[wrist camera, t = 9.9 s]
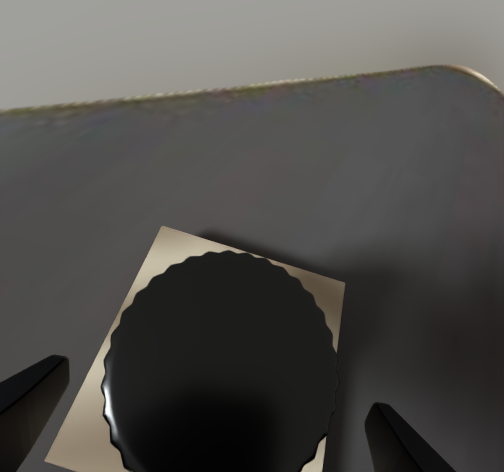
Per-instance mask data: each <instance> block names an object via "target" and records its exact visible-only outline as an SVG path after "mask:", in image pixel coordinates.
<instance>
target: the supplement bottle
mask: <svg viewBox="0 0 504 472" xmlns="http://www.w3.org/2000/svg"><path fill="white" fill-rule="evenodd" d="M325 320H326V318H325V313H324V312H323V311H322V310H321V309H320V308H319V307H318V306H317V305H316V302H315V298H314V296H313V294H312V293H310V292H309V291H307V290H306V289H304V287H303V286H302V283H301V282H300V280H299V279H298V278H296V277H293V276H291V275H289V273H288V272H287V271H286V270H285V268H284V267H281V266H278V265H273V264H272V263H271V262H270V261H269V260H268V259H267V258H256V257H254V256H253V255H252V254H250V253H248V252H245V253H235V252H233V251H231V250H226V251H223V252H220V253H218V252H212V251H208V252H206V253H204V254H203V255H201V256H189V257H188V258H186V259H185V260H184V261H183V262H182V263H176V264H172V265H170V266H169V267H168V268H167V269H166V271H165V272H164V273H162V274H159V275H156V276H154V277H152V279H151V280H150V282H149V283H148V285H147V287H145V288H143V289H141V290H140V291H138V292H137V293H136V294H135V297H134V299H133V302H132V304H131V305H129V306H128V307H127V308H126V309H125V310H124V311H123V312H122V314H121V318H120V323H119V325H118V326H117V327H116V328H115V330H114V331H113V332H112V334H111V338H110V343H111V344H110V349H109V350H108V352H107V354H106V356H105V358H104V360H103V362H104V368H105V375H104V377H103V380H102V383H101V386H100V388H101V391H102V394H103V396H104V399H105V401H104V406H103V414H102V415H103V417H104V419H105V421H106V422H107V424H108V425H109V426H110V443H111V444H112V445H113V446H114V447H115V448H116V449H118V450H119V452H120V454H121V460H122V464H123V467H124V468H125V469H126V470H128V471H129V472H301V471H302V469H303V467H304V466H305V465H306V464H308V463H310V462H311V461H313V460H314V459H315V457H316V453H317V450H318V445H319V443H320V442H321V441H322V440H323V439H324V438H325V437H326V436H327V435H328V430H329V419H330V417H331V415H332V414H333V413H334V411H335V409H336V399H335V392H336V390H337V388H338V385H339V378H338V374H337V371H336V365H337V362H338V356H337V353H336V351H335V349H334V347H333V333H332V332H331V330H330V328H329V327H328V326H327V324H326V321H325Z"/></svg>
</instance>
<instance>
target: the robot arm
mask: <svg viewBox="0 0 504 472" xmlns="http://www.w3.org/2000/svg"><path fill="white" fill-rule="evenodd" d="M69 382H70V365H69V358H68V357H66V356H60V355H51V356H49V357H47V358H45V359H43V360H41V361H39V362H38V363H36V364H34V365H32V366H30V367H28V368H26V369H25V370H23V371H21V372H19V373H17V374H15V375H13V376H12V377H10V378H8V379H6V380H4V381H2V382H0V472H16V471H17V470H18V468H19V467H20V465H21V464H22V462H23V461H24V459H25V458H26V456H27V455H28V453H29V452H30V450H31V449H32V447H33V446H34V444H35V442H36V441H37V439H38V437H39V436H40V434H41V432H42V430H43V429H44V427H45V425H46V423H47V422H48V420H49V418H50V417H51V415H52V413H53V411H54V410H55V408H56V406H57V404H58V403H59V401H60V399H61V397H62V396H63V394H64V392H65V390H66V389H67V387H68V385H69ZM365 432H366V437H367V441H368V446H369V450H370V455H371V459H372V464H373V468H374V472H456V471H455V470H454V469H453V468H452V467H451V466H450V465H449V464H448V463H447V462H446V461H445V460H444V459H443V458H442V457H441V456H440V455H439V454H438V453H437V452H436V451H435V450H434V449H433V448H432V447H431V446H430V445H429V444H428V443H427V442H426V441H425V440H424V439H423V438H422V437H421V436H420V435H419V434H418V433H417V432H416V431H415V430H414V429H413V428H412V427H411V426H410V425H409V424H408V423H407V422H406V421H405V420H404V419H403V418H402V417H401V416H400V415H399V414H398V413H397V412H396V411H395V410H394V409H393V408H392V407H391V406H390V405H388V404H385V403H379V402H375V403H373V405H372V407H371V409H370V411H369V413H368V415H367V418H366V420H365Z"/></svg>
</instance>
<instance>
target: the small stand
mask: <svg viewBox="0 0 504 472" xmlns="http://www.w3.org/2000/svg"><path fill="white" fill-rule="evenodd" d="M226 250H231V251H233V252H235V253H245V251H242V250H238V249H235V248H232V247H229V246H226V245H222V244H219V243H216V242H213V241H210V240H206V239H203V238H200V237H197V236H194V235H190V234H187V233H184V232H181V231H178V230H174V229H171V228H168V227H165V226H162V227H161V229H160V231H159V233H158V235H157V237H156V239H155V241H154V243H153V245H152V247H151V249H150V251H149V253H148V255H147V257H146V259H145V261H144V263H143V265H142V267H141V269H140V271H139V273H138V275H137V277H136V279H135V281H134V283H133V285H132V287H131V289H130V291H129V293H128V295H127V297H126V299H125V301H124V303H123V305H122V307H121V309H120V311H119V313H118V315H117V317H116V319H115V321H114V323H113V325H112V327H111V329H110V331H109V333H108V335H107V337H106V339H105V341H104V343H103V345H102V347H101V349H100V351H99V353H98V355H97V357H96V359H95V361H94V363H93V365H92V367H91V369H90V371H89V373H88V375H87V377H86V379H85V381H84V383H83V385H82V387H81V389H80V391H79V393H78V395H77V397H76V399H75V401H74V403H73V405H72V407H71V409H70V411H69V413H68V415H67V417H66V419H65V421H64V423H63V425H62V427H61V429H60V431H59V433H58V435H57V437H56V439H55V441H54V443H53V445H52V447H51V449H50V451H49V453H48V455H47V457H46V459H45V461H46V462H49V463H52V464H55V465H58V466H61V467H64V468H67V469H70V470H74V471H77V472H129V471H128V470H126V469H125V468H124V467H123V464H122V460H121V454H120V452H119V450H118V449H116V448H115V447H114V446H113V445H112V444H111V443H110V426H109V425H108V424H107V422H106V421H105V419H104V417H103V415H102V414H103V406H104V401H105V399H104V396H103V394H102V391H101V388H100V386H101V383H102V380H103V377H104V375H105V368H104V362H103V360H104V358H105V356H106V354H107V352H108V350H109V349H110V344H111V343H110V338H111V334H112V332H113V331H114V330H115V328H116V327H117V326H118V325H119V323H120V318H121V314H122V312H123V311H124V310H125V309H126V308H127V307H128V306H129V305H131V304H132V302H133V299H134V297H135V294H136V293H137V292H138V291H140V290H141V289H143V288H145V287H147V285H148V283H149V282H150V280H151V279H152V277H154V276H156V275H159V274H162V273H164V272H165V271H166V269H167V268H168V267H169V266H170V265H172V264H176V263H182V262H183V261H184V260H185V259H186V258H188V257H189V256H201V255H203V254H204V253H206V252H208V251H212V252H218V253H220V252H223V251H226ZM250 254H251V253H250ZM252 255H253V256H254V257H256V258H264V257H261V256H258V255H254V254H252ZM268 260H269V261H270V262H271V263H272V264H273V265H278V266H281V267H284V268H285V270H286V271H287V272H288V273H289V275H291V276H293V277H296V278H298V279H299V280H300V282H301V283H302V286H303V287H304V289H306V290H307V291H309V292H310V293H312V294H313V296H314V298H315V302H316V305H317V306H318V307H319V308H320V309H321V310H322V311H323V312H324V313H325V318H326V320H325V321H326V324H327V326H328V327H329V328H330V330H331V332H332V333H333V347H334V349H335V351H336V353H337V346H338V338H339V330H340V322H341V314H342V306H343V297H344V289H345V283H344V282H341V281H338V280H334V279H331V278H328V277H325V276H322V275H318V274H315V273H312V272H309V271H306V270H302V269H299V268H296V267H293V266H290V265H286V264H283V263H280V262H277V261H274V260H270V259H268ZM325 443H326V437H325V438H324V439H323V440H322V441H321V442H320V443H319V445H318V450H317V453H316V457H315V459H314V460H313V461H311V462H310V463H308V464H306V465H305V466H304V467H303V469H302V471H301V472H322V467H323V459H324V451H325Z"/></svg>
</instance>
